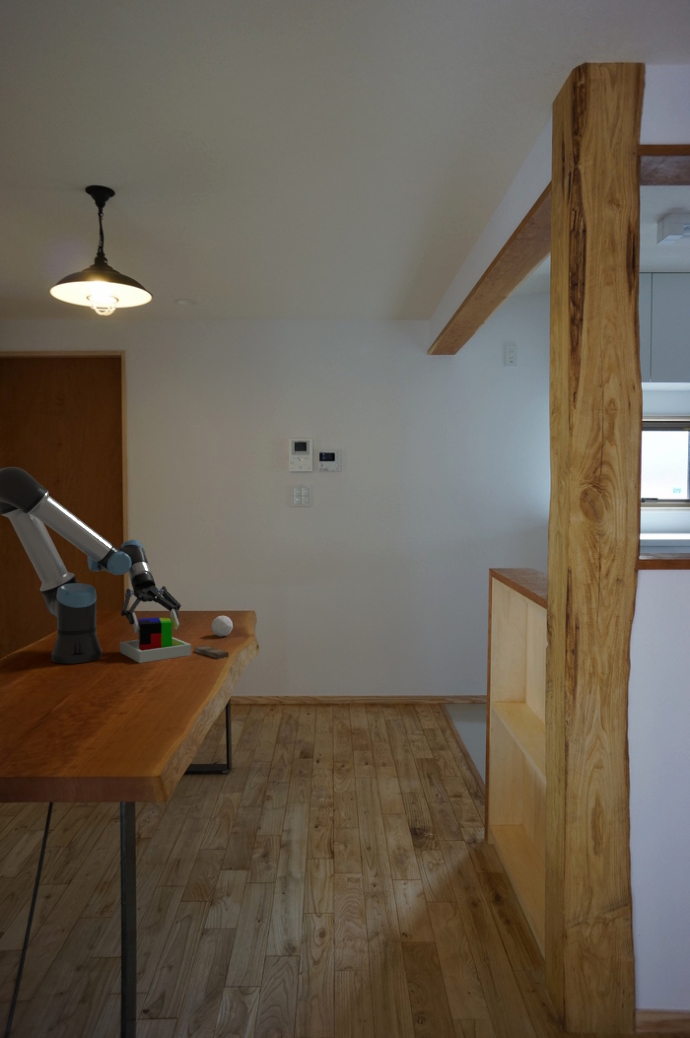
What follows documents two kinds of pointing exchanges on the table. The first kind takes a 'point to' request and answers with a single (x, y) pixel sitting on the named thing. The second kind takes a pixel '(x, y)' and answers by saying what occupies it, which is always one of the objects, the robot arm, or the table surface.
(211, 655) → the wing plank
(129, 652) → the white square tray
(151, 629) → the puzzle toy
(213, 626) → the geometric ball
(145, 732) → the table surface
